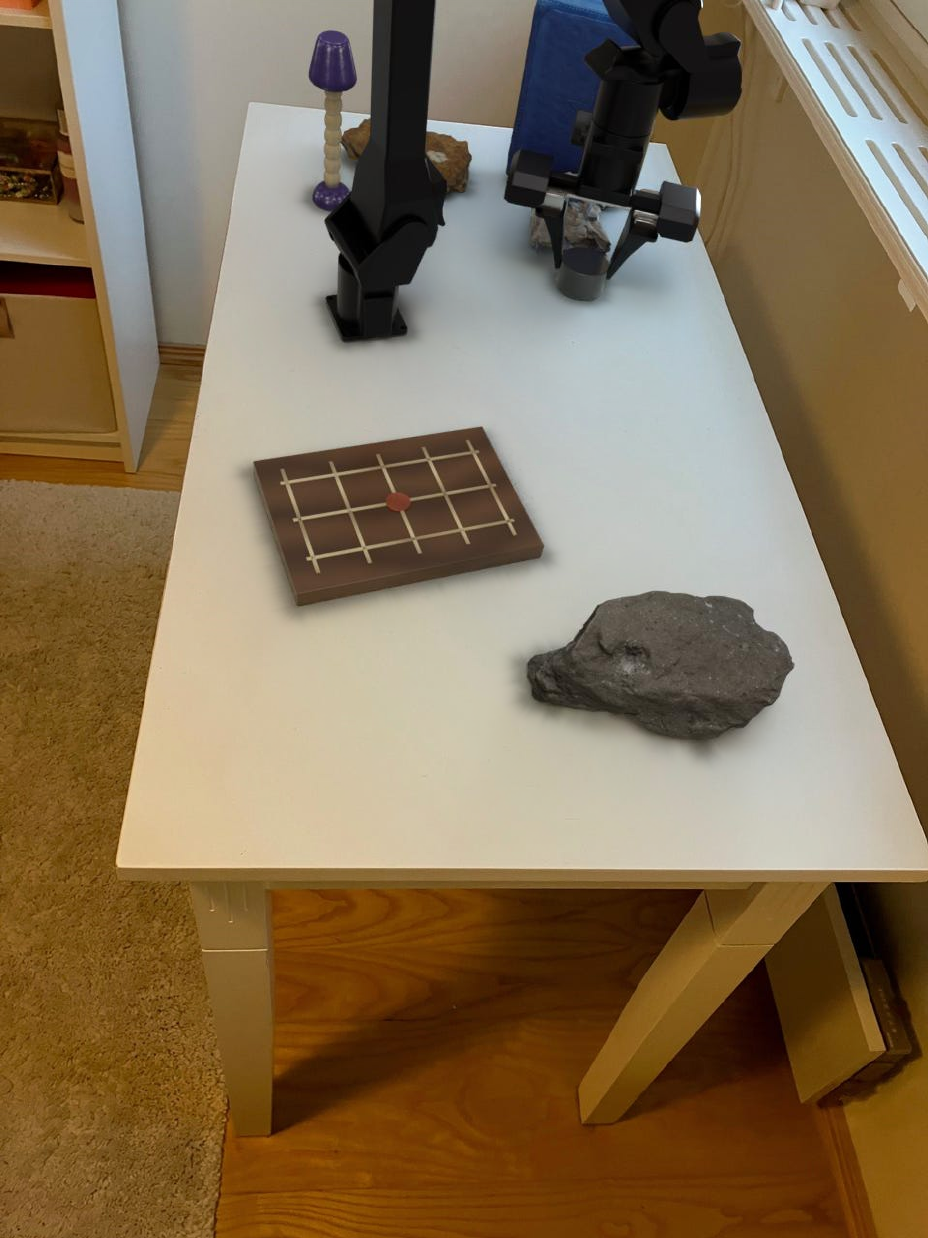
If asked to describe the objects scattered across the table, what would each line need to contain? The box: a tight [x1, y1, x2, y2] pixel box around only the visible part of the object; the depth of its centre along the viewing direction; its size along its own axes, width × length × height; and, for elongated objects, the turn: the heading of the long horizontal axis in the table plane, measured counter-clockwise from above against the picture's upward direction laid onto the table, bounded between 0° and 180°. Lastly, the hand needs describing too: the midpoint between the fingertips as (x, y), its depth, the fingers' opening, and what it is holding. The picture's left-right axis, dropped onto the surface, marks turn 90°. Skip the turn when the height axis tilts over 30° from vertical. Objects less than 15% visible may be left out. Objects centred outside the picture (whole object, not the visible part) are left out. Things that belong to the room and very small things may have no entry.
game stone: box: [555, 247, 610, 302], centre depth 99 cm, size 5×5×3 cm
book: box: [505, 0, 640, 177], centre depth 103 cm, size 14×5×20 cm, turn 77°
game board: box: [252, 425, 545, 607], centre depth 77 cm, size 14×20×2 cm
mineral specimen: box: [529, 172, 612, 262], centre depth 104 cm, size 15×8×4 cm, turn 179°
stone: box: [526, 590, 795, 740], centre depth 68 cm, size 18×9×10 cm
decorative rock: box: [340, 117, 473, 194], centre depth 108 cm, size 11×4×15 cm
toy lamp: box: [308, 29, 358, 212], centre depth 97 cm, size 5×5×17 cm
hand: (582, 271), depth 100 cm, fingers closed on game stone, 5 cm apart
